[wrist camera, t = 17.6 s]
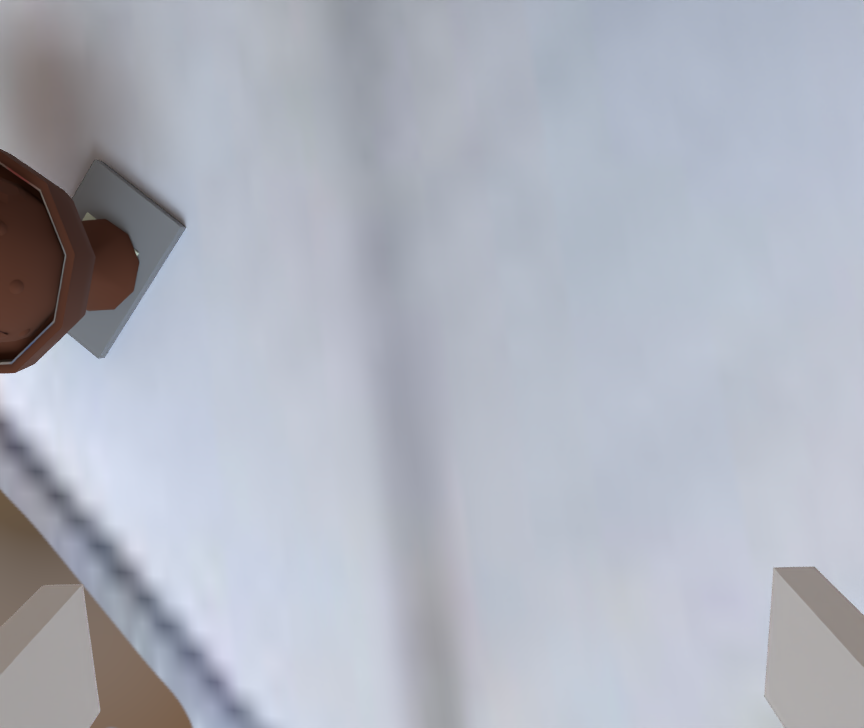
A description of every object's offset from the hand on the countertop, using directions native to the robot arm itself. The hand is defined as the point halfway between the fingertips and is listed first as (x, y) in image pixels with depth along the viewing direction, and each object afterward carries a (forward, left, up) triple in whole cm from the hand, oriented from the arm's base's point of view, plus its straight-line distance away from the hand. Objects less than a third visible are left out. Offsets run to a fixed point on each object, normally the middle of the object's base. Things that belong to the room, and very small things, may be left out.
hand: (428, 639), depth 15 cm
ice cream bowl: (+9, -25, -27) cm, 38 cm away
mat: (+9, -25, -28) cm, 39 cm away
